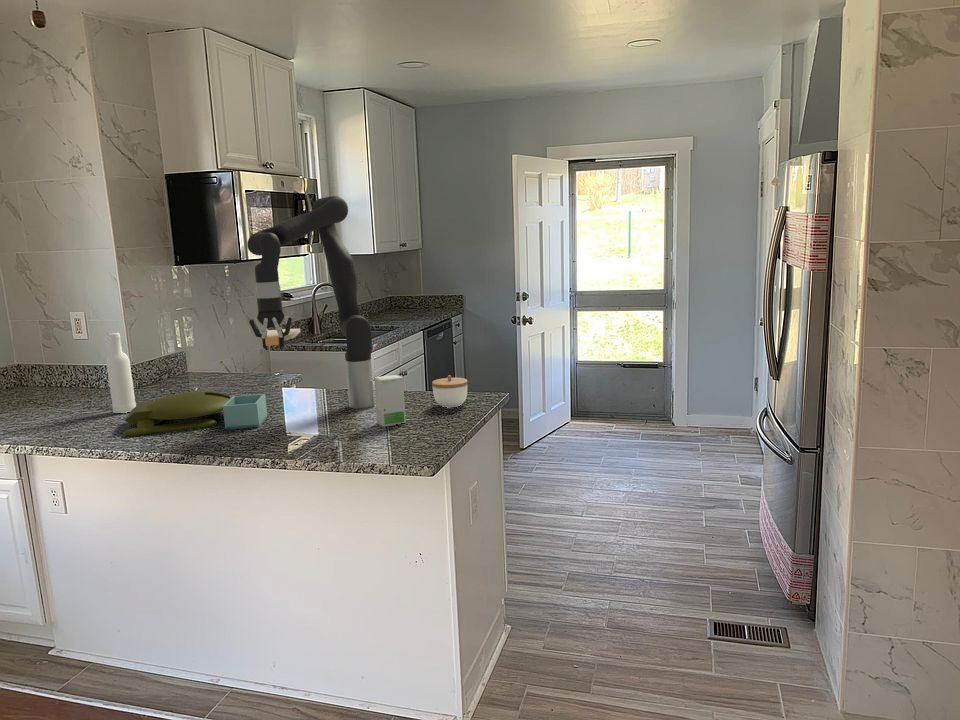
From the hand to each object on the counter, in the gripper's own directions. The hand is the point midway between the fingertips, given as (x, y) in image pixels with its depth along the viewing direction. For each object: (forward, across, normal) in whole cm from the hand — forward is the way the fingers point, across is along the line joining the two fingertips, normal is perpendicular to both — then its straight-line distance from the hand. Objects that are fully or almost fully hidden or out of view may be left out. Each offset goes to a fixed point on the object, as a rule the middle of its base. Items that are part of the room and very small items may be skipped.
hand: (274, 349), depth 231 cm
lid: (-2, 0, -8) cm, 8 cm away
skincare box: (+27, -36, +4) cm, 45 cm away
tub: (+27, +14, -12) cm, 32 cm away
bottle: (+27, +65, -43) cm, 82 cm away
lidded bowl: (+27, -57, -14) cm, 64 cm away
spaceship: (+27, +37, -21) cm, 51 cm away
